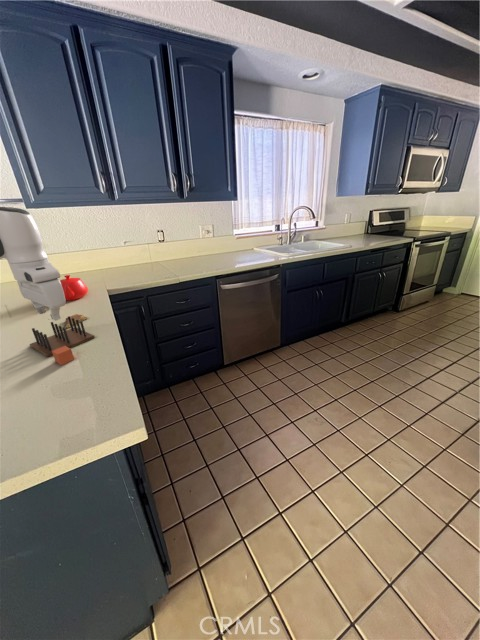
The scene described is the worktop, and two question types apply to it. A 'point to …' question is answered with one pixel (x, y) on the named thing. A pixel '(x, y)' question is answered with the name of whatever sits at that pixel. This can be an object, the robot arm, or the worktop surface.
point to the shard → (76, 317)
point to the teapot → (73, 288)
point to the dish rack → (60, 338)
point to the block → (63, 355)
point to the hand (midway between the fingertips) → (49, 316)
